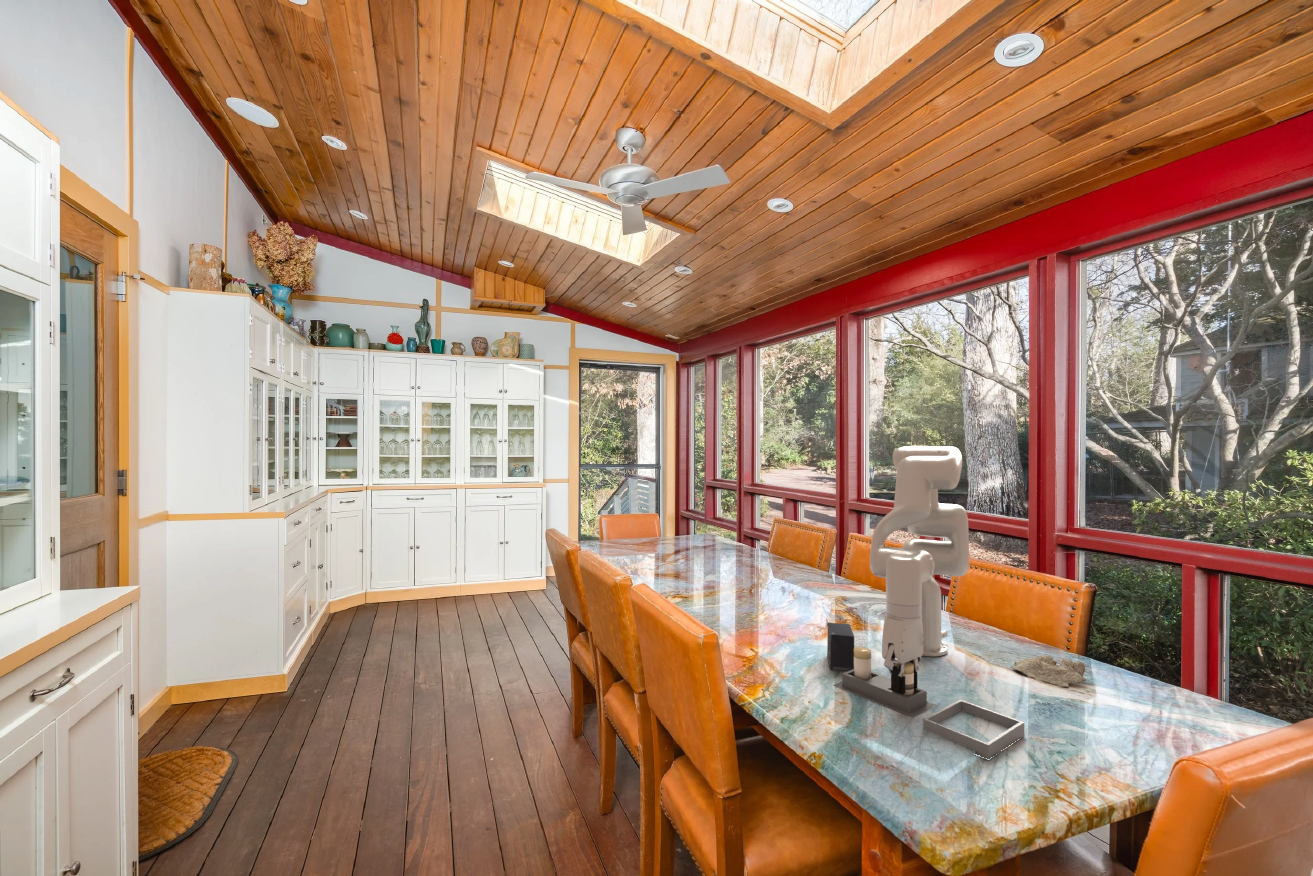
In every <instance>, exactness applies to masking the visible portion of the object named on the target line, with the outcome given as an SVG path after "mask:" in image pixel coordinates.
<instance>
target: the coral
mask: <svg viewBox="0 0 1313 876" xmlns="http://www.w3.org/2000/svg"><path fill="white" fill-rule="evenodd" d="M1057 664H1058V660H1054V657H1052V656H1051V655H1048V654H1044V655H1041V656H1036V657H1031V658H1025V659H1023V660H1018V661H1015V662H1014V665H1012V666H1010V668H1011V669H1013V670H1014V671H1018V672H1020V673H1022V674H1023V675H1025V676H1026V677H1028V678H1032V679H1035V681H1038V682H1044V683H1046V684H1050V685H1053V686H1055V687H1059V688H1069V687H1070V685H1069V684H1079V685H1080V684H1082V683H1084V682H1086V681H1087V679H1086V678H1085V677H1084V673H1085V671H1086V667H1085V663H1084V662H1081V661H1080V660H1077V661H1072V660H1070V659H1067V658H1062V659H1061V660H1060V663H1059V664H1060V665H1059V666H1058V665H1057Z"/></svg>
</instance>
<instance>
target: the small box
mask: <svg viewBox="0 0 1313 876" xmlns="http://www.w3.org/2000/svg"><path fill="white" fill-rule="evenodd" d="M826 625H827V637H826V638H827V642H826V643H827V646H826V647H827V648H826V649H827V650H826V654H827V656H826V657H827V663H828V668H829V670H830V671H833V672H847V671H850V670H853V669H854V648H855V635H854V632H853V629H852V627H851V624H850V623H839V622H829V621H828V622H827V624H826Z"/></svg>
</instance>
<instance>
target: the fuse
mask: <svg viewBox="0 0 1313 876" xmlns="http://www.w3.org/2000/svg"><path fill="white" fill-rule="evenodd" d="M871 671H872V649H870V648H868V647H864V646H857V647H854V677H857V678H859V679H862V680H865V681H866V680H869V679H871Z"/></svg>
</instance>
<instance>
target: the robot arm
mask: <svg viewBox="0 0 1313 876" xmlns="http://www.w3.org/2000/svg"><path fill="white" fill-rule="evenodd" d="M892 463H893V465H894V468H895V470H896V479H895V488H894V489H895V490H894V502H893V508H892V510H891V511H889V512H888V513H887V514H886V515H884V517H883V518H882V519H880V521H879V522H878V524H877V525H876V527H875V528H874V530H873V534H872V536H871V543H870V551H869V567H870V571H871V573H872V574H873V575H874V576H875V577H878V578H882V579H885V608H886V609H885V614H886V615H885V616H884V622H883V628H882V637H881V638H882V639H881V656H882V659H884V662H883V666H884V667H885V668H887V669H888V671H889V672H888V673H889V674H890V678H891V690H892V691H894V692H897V693H900V694H902V695H904V694H905V676H903V674H904V664H905V663H906V662H911V663H913V665H914V689H917V688H918V671H919V670H920V669H919V668H920V667H919V664H920V661H921V658H922V657H941V656H944V655H947V653H948V647H947V645H946V644H944V643H942V640H943V639H944V638H947V636H948V632H947V631H946V630H942V590H941V587H940V584H938V582H937V581H936V579H935V578H934V577H933V576H934V575H935V576H937V575H938V576H947V577H950V576H951V577H963V576H965V575H967V573H968V571H969V567H970V548H969V547H970V541H969V540H970V539H969V538H970V537H969V519H968V518H969V517H968V514H967V511H966V509H965V508H964V507H963V506H962V505H959V504H956V503H955V504H953V503H940V502H939V490H953V489H956V488H957V486H958V484H959V483H960V479H961V473H962V468H963V456H962V453H961V451H960V450H959V448H957V447H955V446H950V445H949V446H948V445H946V446H944V445H943V446H942V445H941V446H939V445H938V446H937V445H936V446H935V445H933V446H932V445H931V446H929V445H910V446H906V445H905V446H901V447H898V448H896V449H894V451H893V453H892ZM905 527H907V528H906V529H907V530H908V532H909V533H910V534H912V535H915V536H919V537H920V536H921V537H930V538H931V537H932V538H944V539H948V540H949V541H947V540H946V541H944V540H943V541H942V540H934V539H921V538H920V539H917V538H916V539H910V540H907V541H906V542H904V543H903V544H902V546H901V547H896V546H895V547H893V546H884V545H885V543H886V540H887V538H888V537H889V536H890V535H892V534H893V533H894V532H896V531H898V530H900V529H904V528H905ZM895 664H898V665H899V669H898V667H897V666H895Z"/></svg>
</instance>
